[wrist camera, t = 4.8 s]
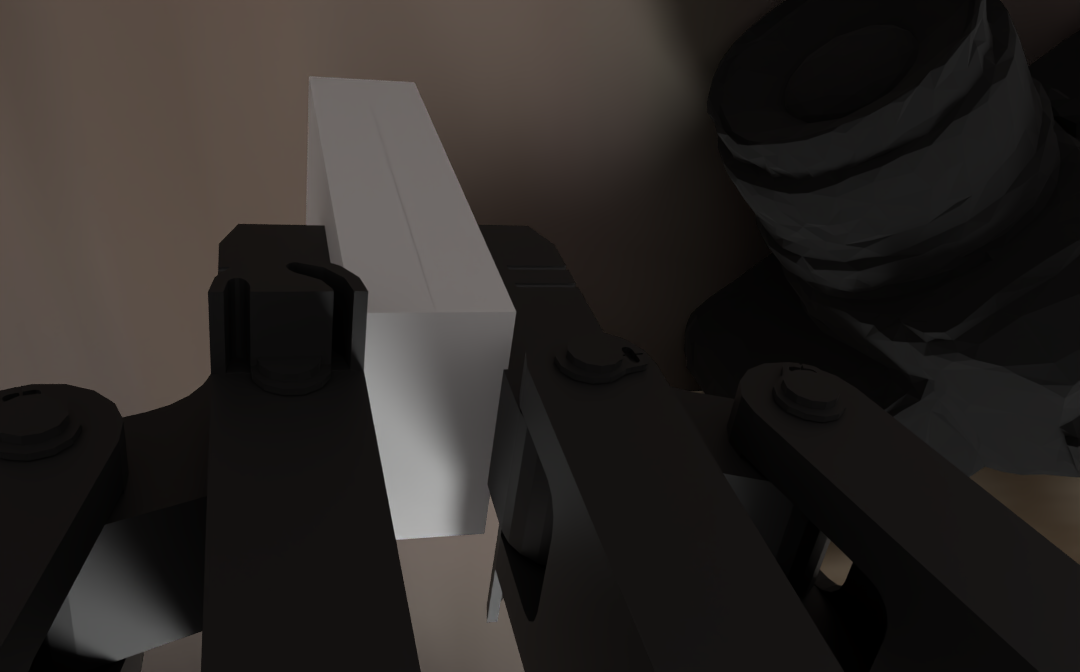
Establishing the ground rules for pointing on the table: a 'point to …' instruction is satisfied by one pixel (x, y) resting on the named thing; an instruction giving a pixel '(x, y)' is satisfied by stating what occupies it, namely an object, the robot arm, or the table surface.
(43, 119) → the table surface
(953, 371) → the film camera
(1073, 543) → the beige flat board
